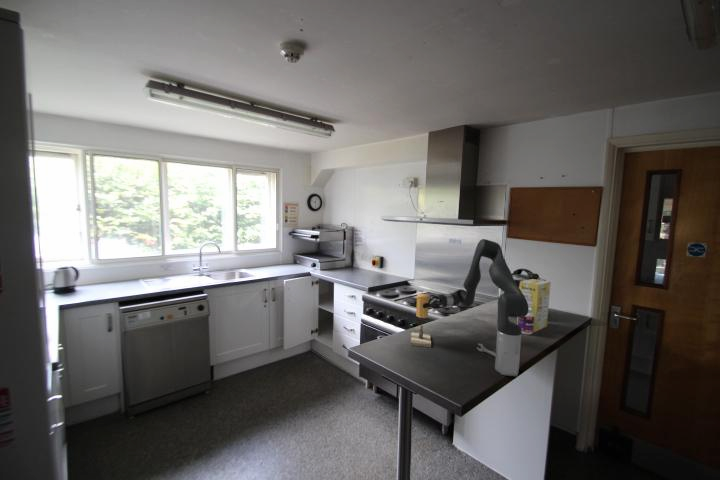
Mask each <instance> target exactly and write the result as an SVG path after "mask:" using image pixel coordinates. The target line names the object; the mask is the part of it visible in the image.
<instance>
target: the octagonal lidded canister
mask: <svg viewBox="0 0 720 480" xmlns="http://www.w3.org/2000/svg"><path fill="white" fill-rule="evenodd" d="M429 298H430V295H429V294H426V293H418V294H416V300H417V305H416V309H415V310H416V311H415V312H416V313H415V317H418V318H420V319H427V318H429V308H423V304H425V303H429Z"/></svg>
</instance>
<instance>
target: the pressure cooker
mask: <svg viewBox="0 0 720 480" xmlns="http://www.w3.org/2000/svg"><path fill="white" fill-rule="evenodd" d="M522 272H525V273H526V274H522ZM511 274H512V276H513V278H514V280H515V282H516V284H517V286H518V287H519V286H520V282H521V281H525V280H530V279H536V280H542V281H547V280H546V279H544V278H541V277H540V275H539V274H538V273H534V272H533V271H532V270H530V269H527V268H518V269H515V270H514V271H513V273H512V272H511ZM501 294H507V293H505V292H504V291H503V290H501V289H500V295H501ZM500 295H499V296H500Z"/></svg>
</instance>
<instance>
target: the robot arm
mask: <svg viewBox="0 0 720 480" xmlns="http://www.w3.org/2000/svg"><path fill="white" fill-rule="evenodd" d="M482 257H483V258H487V259H490V260H491V261H492V263H491V264H490V266H489V268H488V273H489V276H490V279H491V282H492V283H493V284H494V285H495V286H496V287H497V288H498V289H500V291H501V290H503V291H504V292H505V293H507V294H501V295H499V296H498V299H497V330H496V331H497V333H496V345H495V346H496V348H495V353H496V357H495V362H494V363H495V364H494V369H495V371H496V372H497V373H500V375H502V376H509V377H518V375H519V372H520V371H519V369H520V359H521V358H520V355H521V344H522V343H521V342H522V328H521V327H520V326H519V325H518V324H517V323H515V322H513V321H510V319H509V317H512V318H517V317H524V316H526V315H527V314H528V310H529V308H528V303H527V300H526V298H525V296H524V295H523V293H522V292H521V290H520V289H519V287H518V286H517V284H516V282H515V280H514V278H513V276H512V272H511V269H510V268H509V266H508V263H507V262H506V259H505V257H504V254H503V250H502V247H501V246H500V244H499V243H497V242H496V241H492V240H489V239H485V238H482V239H480V240H479V242H477V246H476V248H475V251H474V253H473V258H472V260H471V264H470V266H469V267H470V268H469V270H468V273H467V276H466V278H465V280H464V282H463V286H462V287H463V288H464V289H465V290H464V289H462V288H461V289H457V290H455V291H454V292H451V293H450V292H449V293H439V294H434V295H433V297H429V303H425V304H423V308H428V309H433V310H434V309H436V310H437V309H438V310H440V309H445V308H450V307H456V306H458V305H460V304H461V305H462V306H463V307H466V308H469V307H471V306H472V305H473V304H474V302H475V297H476V291H477V290H476V289H477V287H478V285H479V283H480V282H481V279H482V278H481V277H482V275H481V274H482V273H481V265H480V263H481V262H480V261H481V259H482ZM413 304H414V305H415V306H417V299H415V300H414V302H413Z"/></svg>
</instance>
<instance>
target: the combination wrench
mask: <svg viewBox="0 0 720 480" xmlns="http://www.w3.org/2000/svg"><path fill="white" fill-rule="evenodd" d="M478 346H480V348H479V347H477V346H476V349H477V350H478V351H479V352H481V353H483V352H484V353H487V354H489V355H491V356H493V357H495V358H496V352H495V351H491V350H489V349H487V348H486V347H485V346H484V345H483V343H478Z"/></svg>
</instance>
